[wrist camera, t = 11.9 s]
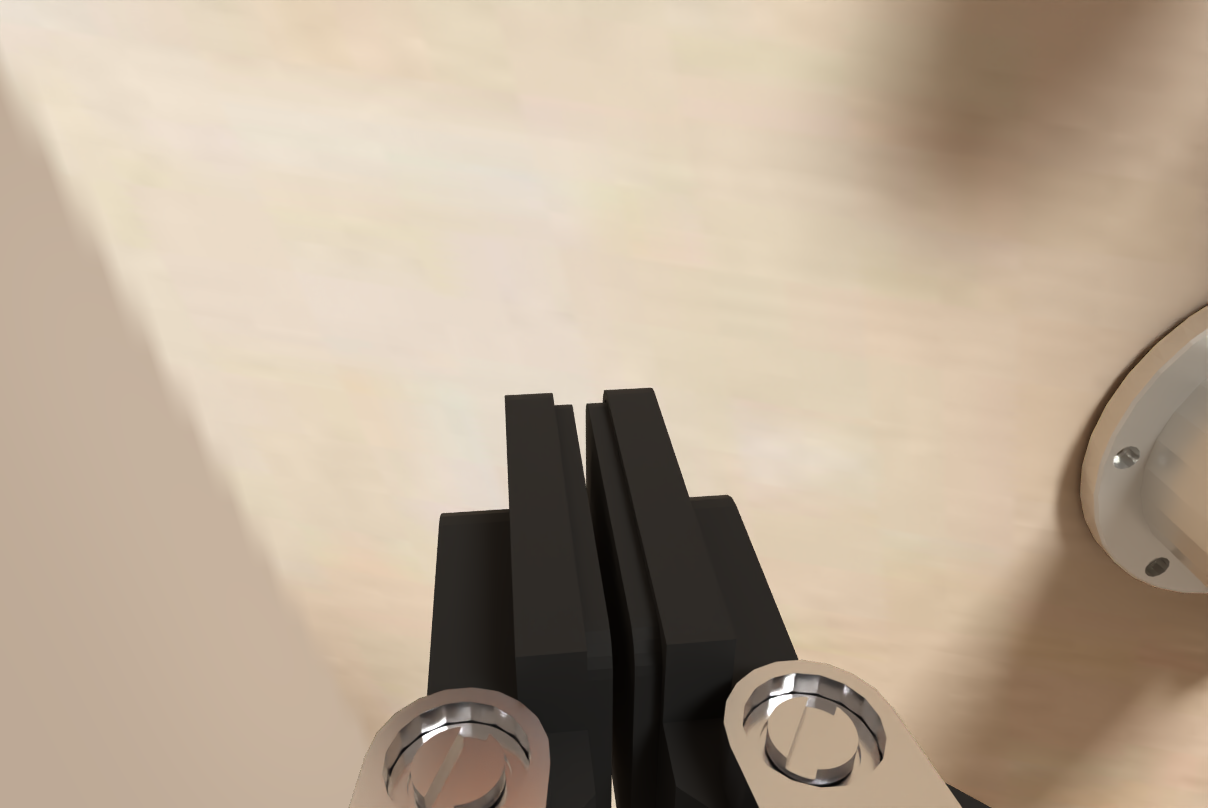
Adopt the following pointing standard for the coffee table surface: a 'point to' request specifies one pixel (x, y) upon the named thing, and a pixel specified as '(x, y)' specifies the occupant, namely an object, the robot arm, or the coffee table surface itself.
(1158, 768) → the coffee table surface
